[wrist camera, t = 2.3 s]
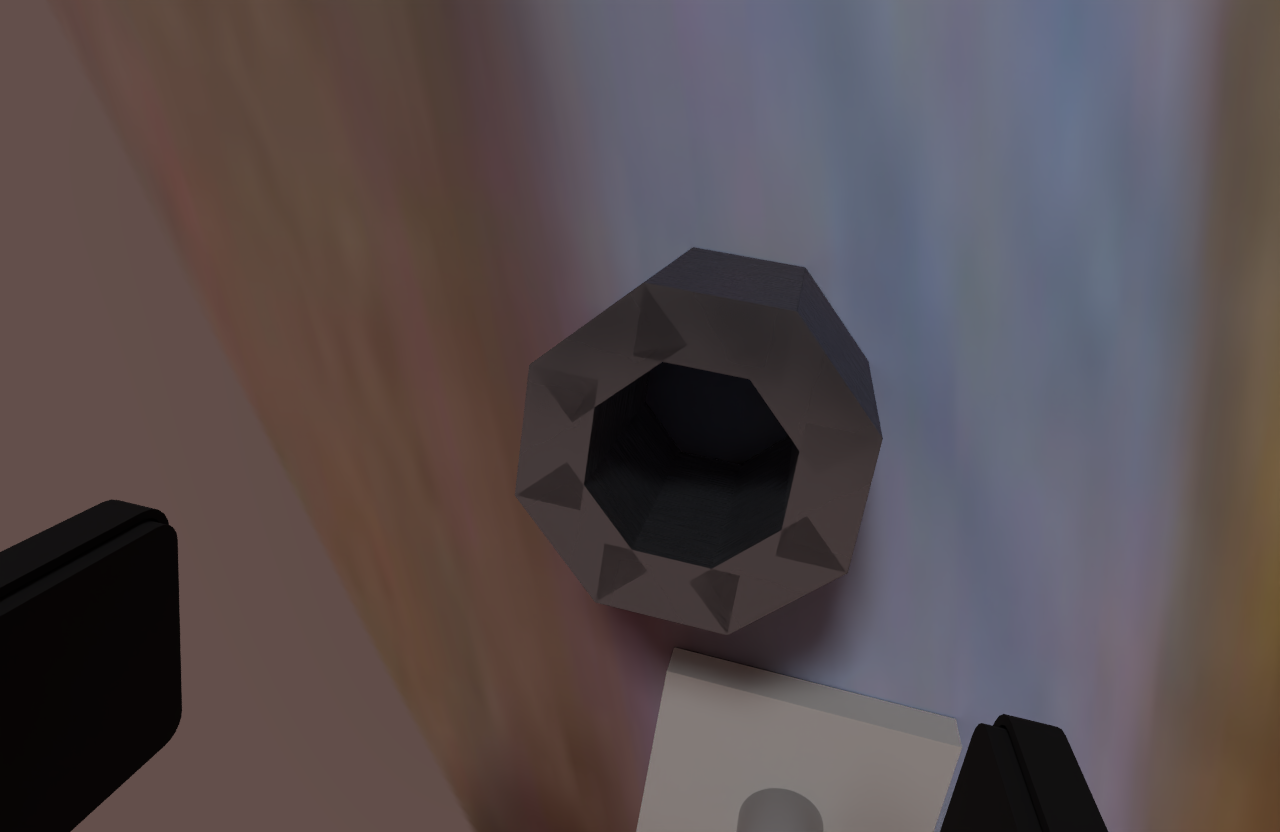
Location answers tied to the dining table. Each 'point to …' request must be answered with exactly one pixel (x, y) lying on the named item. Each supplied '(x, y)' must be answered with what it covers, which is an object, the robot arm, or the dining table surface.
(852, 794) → the shaft block
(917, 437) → the dining table surface
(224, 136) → the dining table surface
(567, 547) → the ring
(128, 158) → the dining table surface
